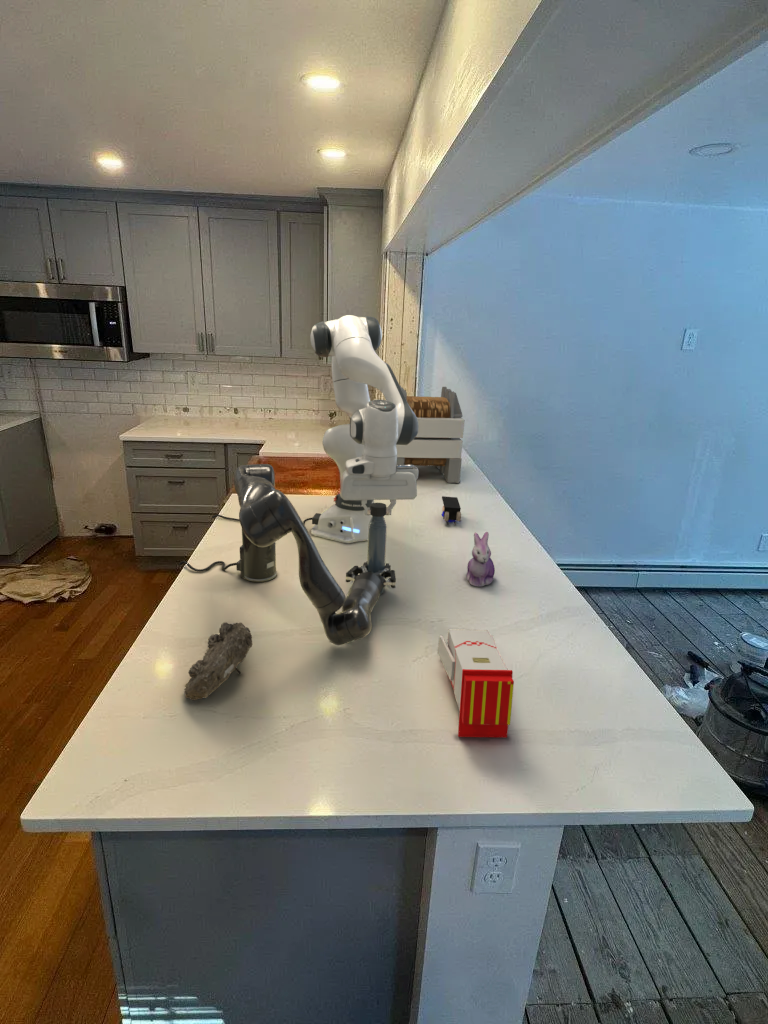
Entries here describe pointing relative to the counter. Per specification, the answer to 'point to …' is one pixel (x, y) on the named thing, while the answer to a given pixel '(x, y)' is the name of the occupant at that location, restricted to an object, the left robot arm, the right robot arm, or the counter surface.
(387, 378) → the right robot arm
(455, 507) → the figurine character
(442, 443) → the transformer
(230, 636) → the fossil
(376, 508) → the cap
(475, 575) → the figurine
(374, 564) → the bottle
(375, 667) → the counter surface
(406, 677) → the counter surface
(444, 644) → the toy
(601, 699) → the counter surface
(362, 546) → the counter surface
